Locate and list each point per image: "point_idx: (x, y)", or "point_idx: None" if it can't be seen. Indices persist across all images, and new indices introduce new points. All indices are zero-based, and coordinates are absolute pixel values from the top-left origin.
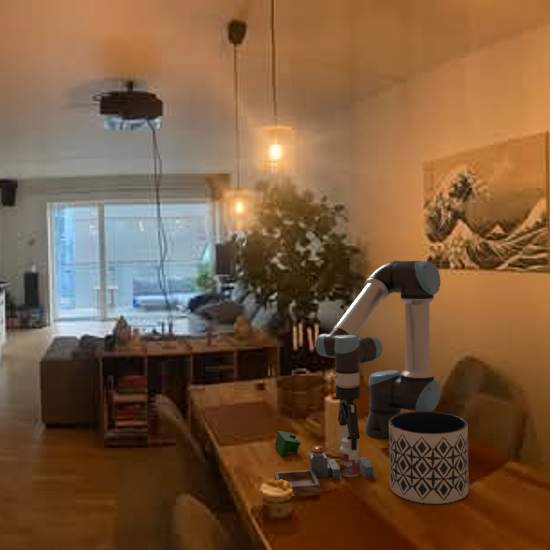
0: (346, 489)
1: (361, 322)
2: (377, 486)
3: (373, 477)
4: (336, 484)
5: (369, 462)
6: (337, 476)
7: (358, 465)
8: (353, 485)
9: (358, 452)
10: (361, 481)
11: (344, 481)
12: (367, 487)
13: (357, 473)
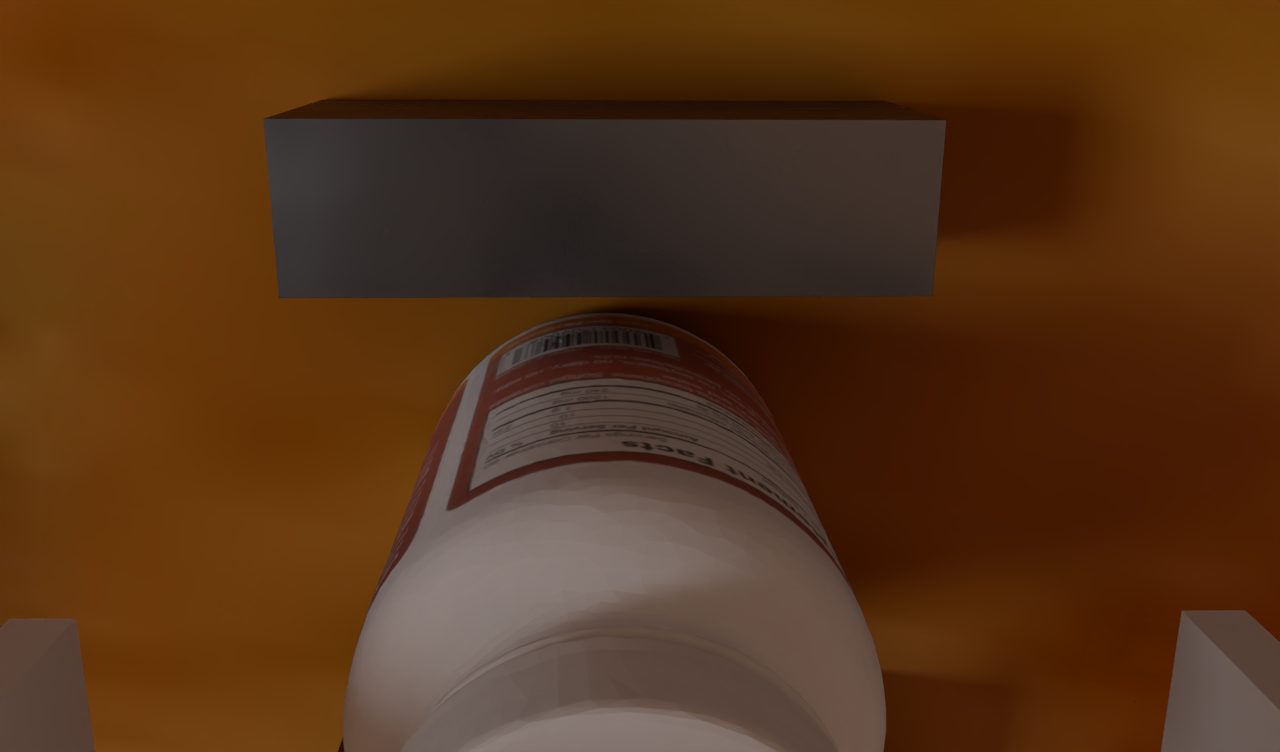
0: None
1: None
2: (1274, 130)
3: (884, 101)
4: (987, 746)
5: (653, 135)
6: None
7: (744, 404)
8: (1103, 513)
9: (774, 508)
10: (978, 352)
11: (903, 615)
12: (1256, 312)
13: (750, 386)
